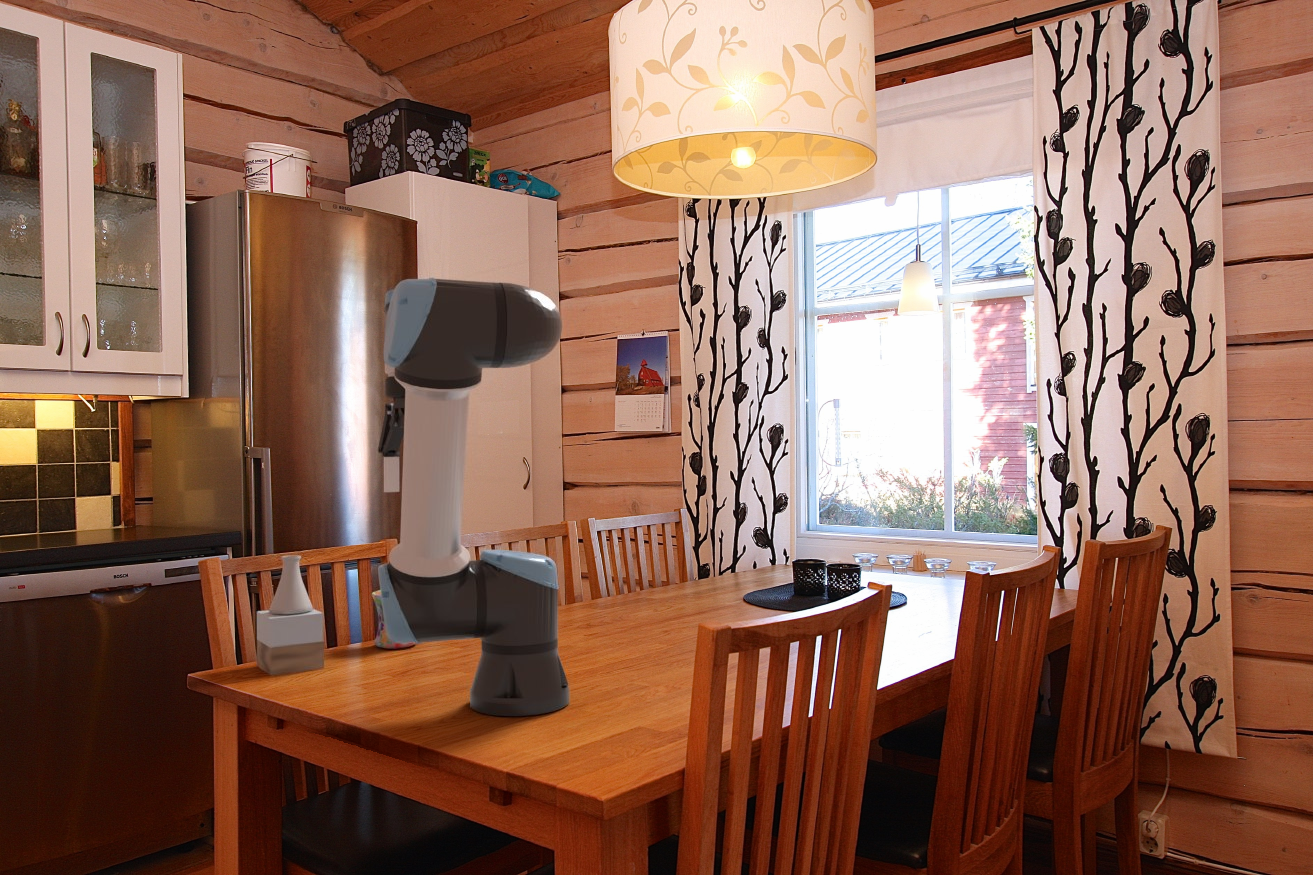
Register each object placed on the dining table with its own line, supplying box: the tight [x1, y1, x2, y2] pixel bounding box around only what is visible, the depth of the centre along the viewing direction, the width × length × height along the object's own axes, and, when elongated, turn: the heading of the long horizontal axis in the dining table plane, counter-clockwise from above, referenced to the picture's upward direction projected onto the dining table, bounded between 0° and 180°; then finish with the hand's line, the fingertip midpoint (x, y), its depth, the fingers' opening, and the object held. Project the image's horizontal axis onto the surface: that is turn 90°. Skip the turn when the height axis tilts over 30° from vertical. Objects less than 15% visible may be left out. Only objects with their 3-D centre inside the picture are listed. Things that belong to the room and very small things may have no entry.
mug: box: [371, 589, 417, 650], centre depth 193 cm, size 12×9×11 cm
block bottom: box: [256, 639, 325, 677], centre depth 175 cm, size 9×9×5 cm
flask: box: [268, 554, 315, 614], centre depth 175 cm, size 7×7×10 cm
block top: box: [256, 608, 324, 648], centre depth 175 cm, size 9×9×5 cm
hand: (407, 493), depth 177 cm, fingers open, 13 cm apart
